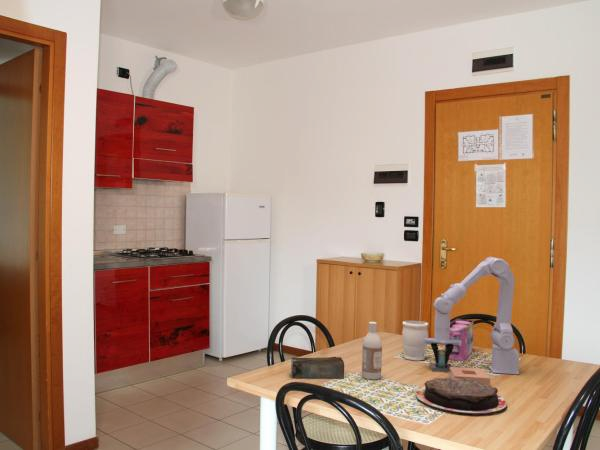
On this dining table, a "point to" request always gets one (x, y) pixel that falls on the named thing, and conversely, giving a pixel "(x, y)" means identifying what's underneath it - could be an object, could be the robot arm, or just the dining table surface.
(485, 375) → the socket
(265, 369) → the dining table surface
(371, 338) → the bath foam
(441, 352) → the pin
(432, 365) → the mount
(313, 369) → the dark grey long block
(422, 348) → the jar
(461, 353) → the gum box
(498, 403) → the chocolate cake
